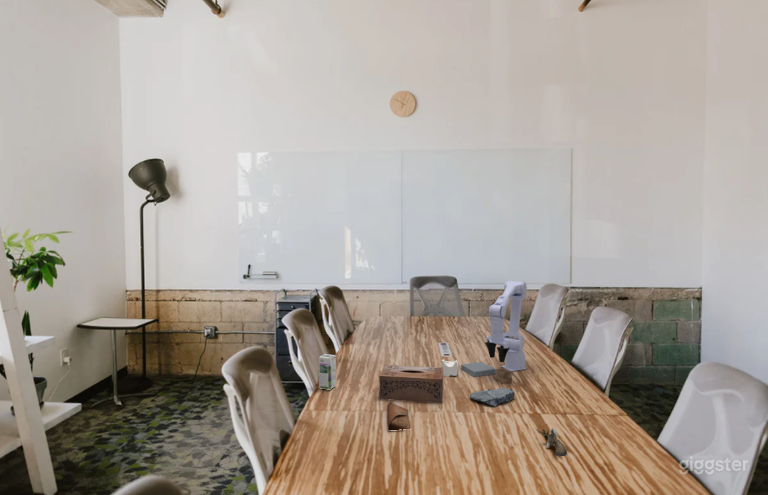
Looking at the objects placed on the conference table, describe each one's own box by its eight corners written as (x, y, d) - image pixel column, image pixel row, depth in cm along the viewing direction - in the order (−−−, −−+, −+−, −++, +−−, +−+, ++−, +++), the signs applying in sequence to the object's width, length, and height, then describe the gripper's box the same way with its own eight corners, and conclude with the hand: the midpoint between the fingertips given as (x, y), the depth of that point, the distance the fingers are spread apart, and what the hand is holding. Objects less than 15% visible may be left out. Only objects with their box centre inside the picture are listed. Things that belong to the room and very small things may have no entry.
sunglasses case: (412, 431, 143) (402, 414, 143) (395, 441, 143) (385, 425, 143) (408, 409, 161) (399, 394, 161) (393, 418, 161) (384, 404, 161)
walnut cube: (504, 378, 194) (504, 368, 194) (511, 382, 190) (511, 371, 189) (495, 379, 192) (496, 369, 192) (502, 383, 188) (502, 372, 188)
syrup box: (318, 389, 181) (318, 356, 181) (325, 384, 187) (324, 353, 186) (330, 391, 179) (330, 358, 179) (336, 386, 185) (336, 354, 185)
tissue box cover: (443, 390, 181) (443, 367, 180) (442, 403, 166) (442, 379, 166) (385, 386, 185) (385, 364, 185) (379, 399, 171) (379, 375, 171)
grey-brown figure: (531, 440, 134) (547, 449, 125) (540, 419, 136) (556, 427, 127) (550, 451, 135) (567, 461, 126) (558, 431, 136) (576, 439, 128)
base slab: (481, 366, 211) (481, 361, 211) (495, 374, 200) (495, 368, 200) (461, 369, 207) (461, 364, 207) (474, 377, 196) (474, 372, 196)
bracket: (457, 377, 196) (457, 361, 196) (442, 376, 198) (442, 360, 198) (458, 368, 209) (458, 354, 209) (443, 367, 211) (443, 353, 210)
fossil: (465, 398, 172) (465, 389, 171) (497, 390, 180) (497, 381, 180) (486, 410, 160) (486, 400, 160) (520, 400, 169) (520, 391, 168)
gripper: (480, 328, 197) (480, 356, 197) (499, 335, 183) (499, 365, 184) (493, 326, 199) (493, 354, 200) (512, 333, 186) (512, 363, 186)
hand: (496, 359), depth 192 cm, fingers open, 7 cm apart
